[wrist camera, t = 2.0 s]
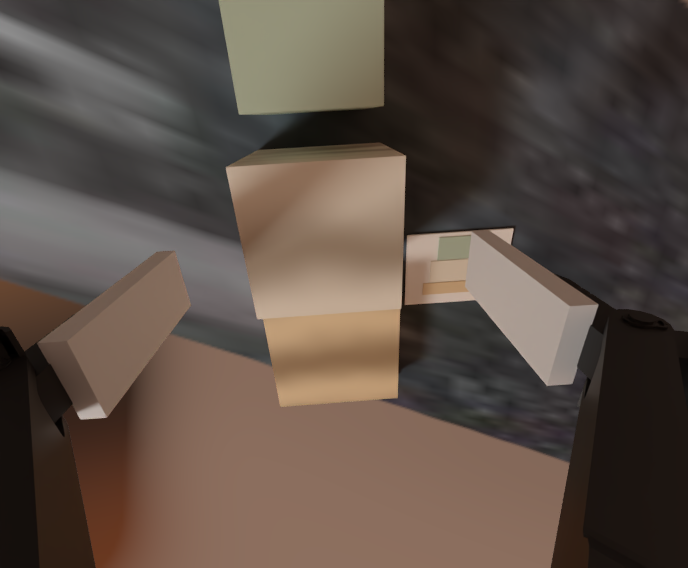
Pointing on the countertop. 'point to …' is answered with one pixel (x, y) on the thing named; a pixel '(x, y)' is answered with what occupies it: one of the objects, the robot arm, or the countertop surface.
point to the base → (335, 356)
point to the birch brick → (321, 228)
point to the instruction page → (440, 266)
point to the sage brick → (305, 54)
